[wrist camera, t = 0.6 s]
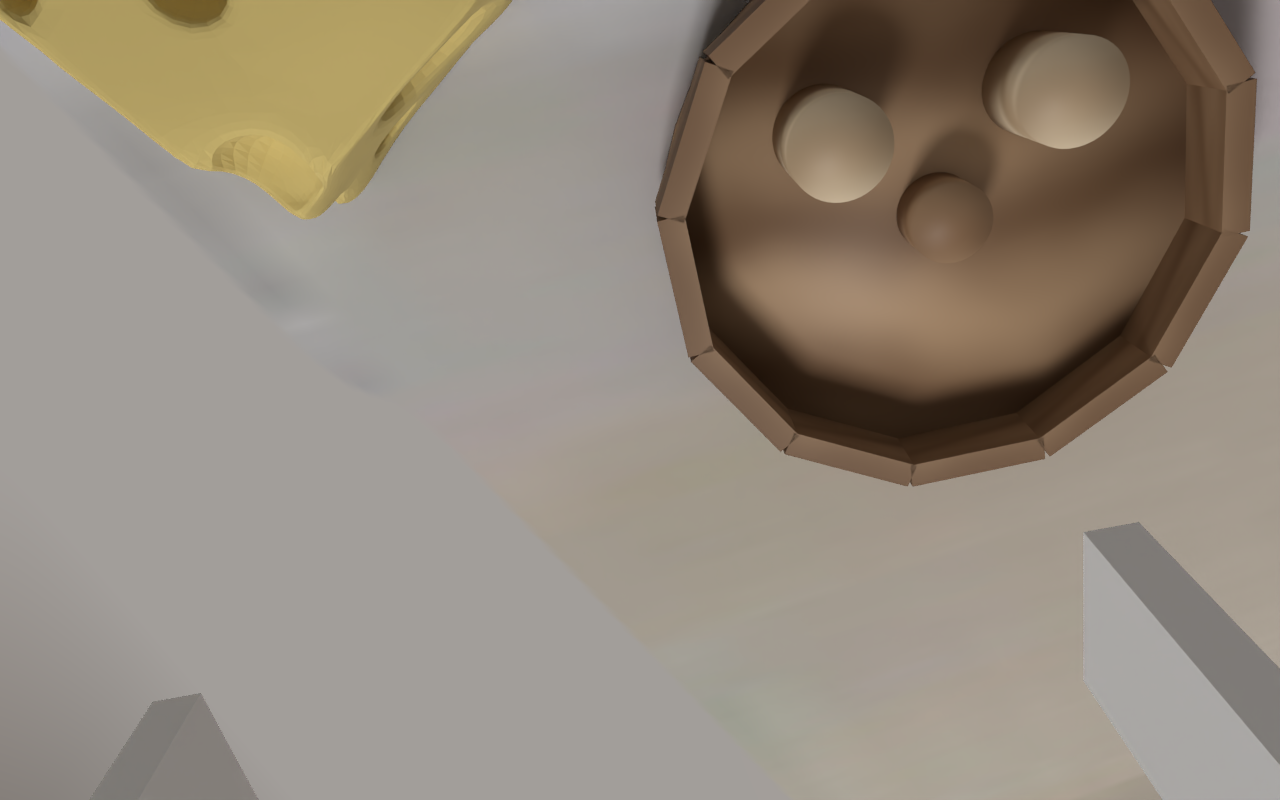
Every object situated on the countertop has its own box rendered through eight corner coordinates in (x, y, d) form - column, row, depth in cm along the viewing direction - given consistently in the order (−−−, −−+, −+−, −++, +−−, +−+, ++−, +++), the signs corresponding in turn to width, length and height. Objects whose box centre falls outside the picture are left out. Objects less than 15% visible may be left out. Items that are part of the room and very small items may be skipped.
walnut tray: (605, -11, 33) (603, -10, 29) (1200, -166, 31) (1268, -184, 28) (718, 482, 41) (727, 525, 38) (1189, 381, 39) (1241, 417, 36)
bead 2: (978, 43, 32) (1016, 49, 29) (1079, 19, 32) (1129, 22, 29) (985, 144, 34) (1023, 159, 31) (1082, 121, 34) (1130, 134, 30)
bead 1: (764, 96, 33) (779, 108, 30) (861, 72, 33) (887, 81, 30) (780, 192, 35) (796, 213, 31) (874, 170, 34) (900, 188, 31)
